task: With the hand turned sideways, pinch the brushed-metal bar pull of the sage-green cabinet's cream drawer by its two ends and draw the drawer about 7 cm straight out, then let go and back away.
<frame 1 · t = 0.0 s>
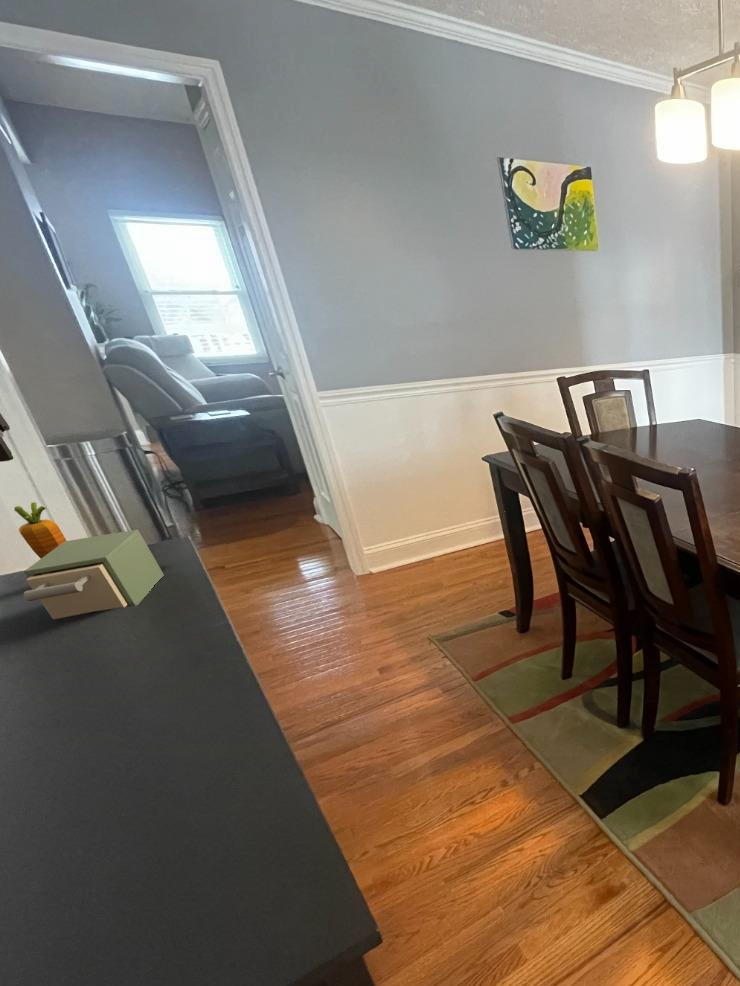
carrot: (71, 578, 113), on the table
cabinet: (115, 597, 105), on the table
drawer: (86, 585, 99), point 5 cm above the table, slide at 0.5 cm
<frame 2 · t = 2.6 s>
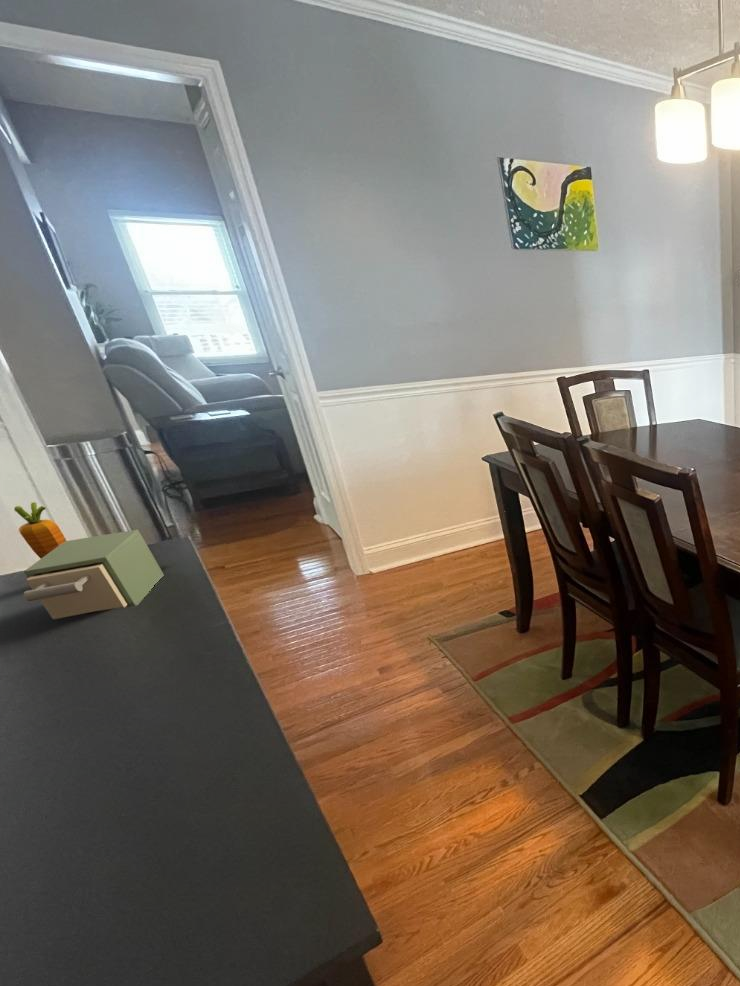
nothing on the table moved.
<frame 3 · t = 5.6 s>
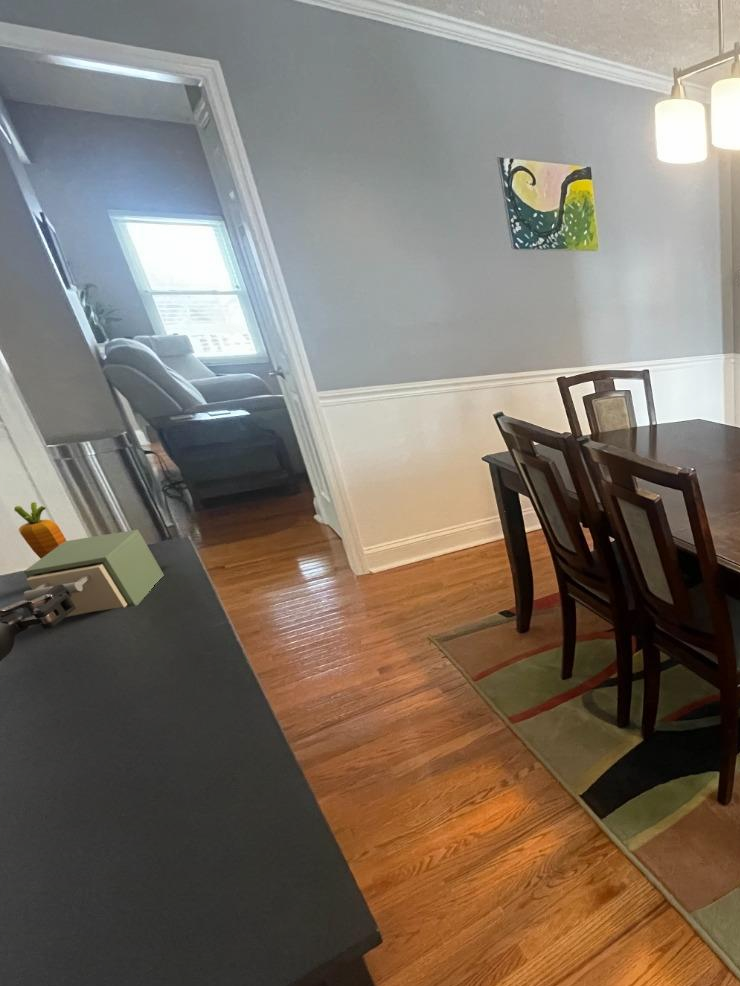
hand: (24, 597, 86), 9 cm above the table, tool horizontal, fingers open, 8 cm apart
nothing on the table moved.
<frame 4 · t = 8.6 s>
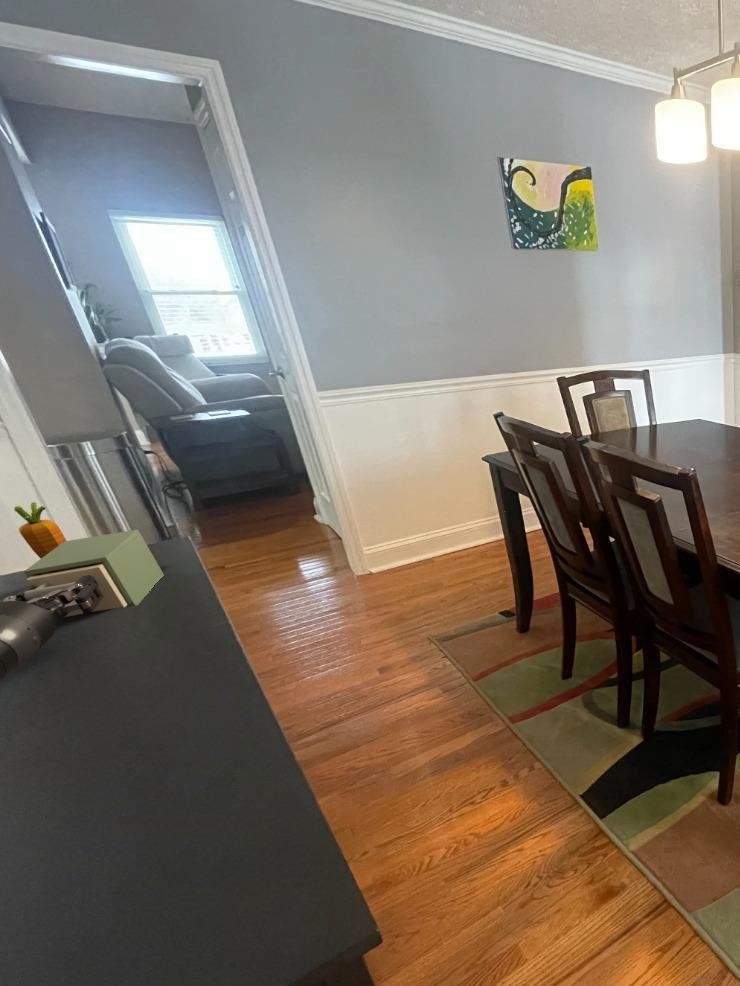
hand: (63, 585, 94), 7 cm above the table, tool horizontal, fingers closed on drawer, 6 cm apart
drawer: (86, 585, 99), point 5 cm above the table, slide at 0.5 cm, touching gripper
everything else where it was.
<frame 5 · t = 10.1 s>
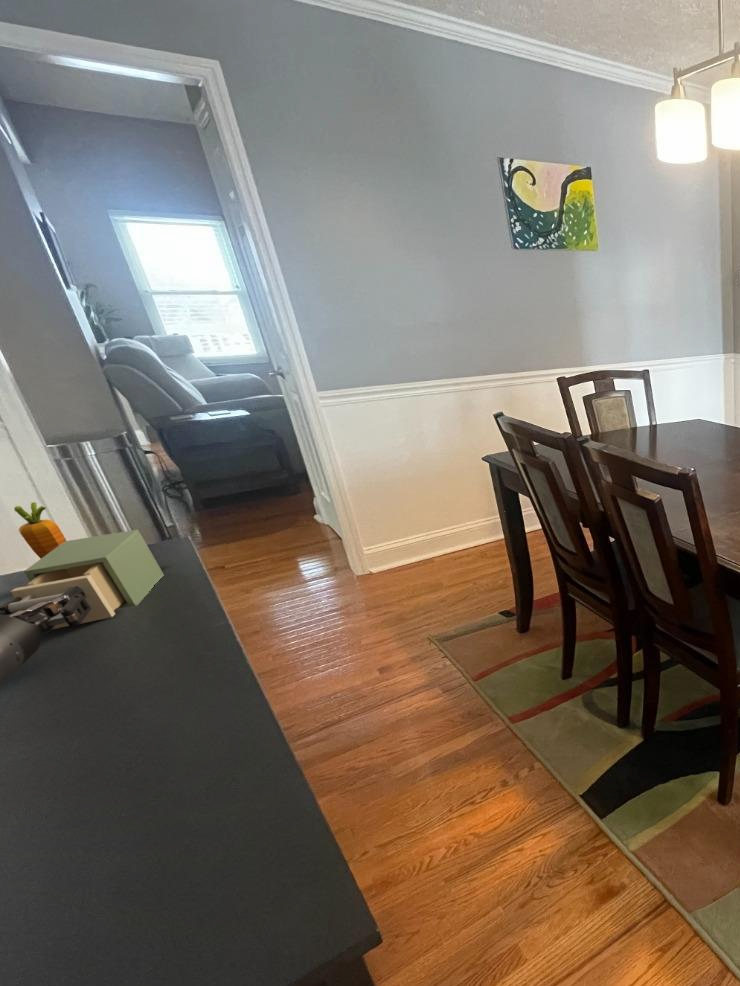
hand: (49, 597, 91), 7 cm above the table, tool horizontal, fingers closed on drawer, 6 cm apart
drawer: (74, 596, 96), point 5 cm above the table, slide at 4.5 cm, touching gripper
everything else where it was.
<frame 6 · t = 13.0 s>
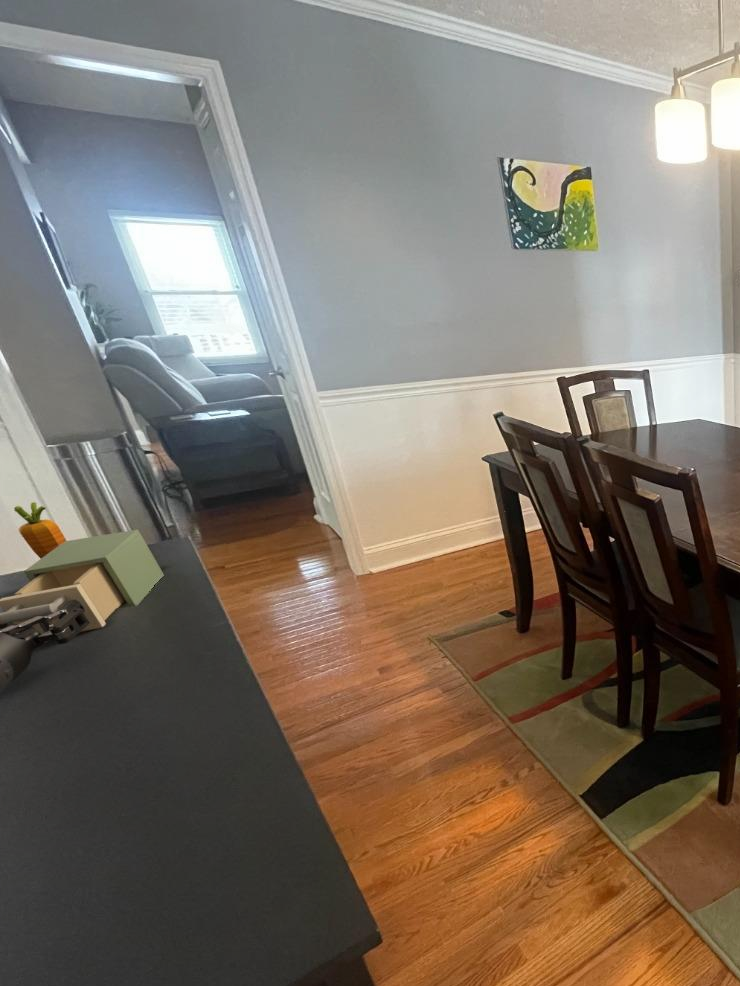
hand: (39, 612, 88), 7 cm above the table, tool horizontal, fingers open, 8 cm apart
drawer: (64, 605, 93), point 5 cm above the table, slide at 7.8 cm
everything else where it was.
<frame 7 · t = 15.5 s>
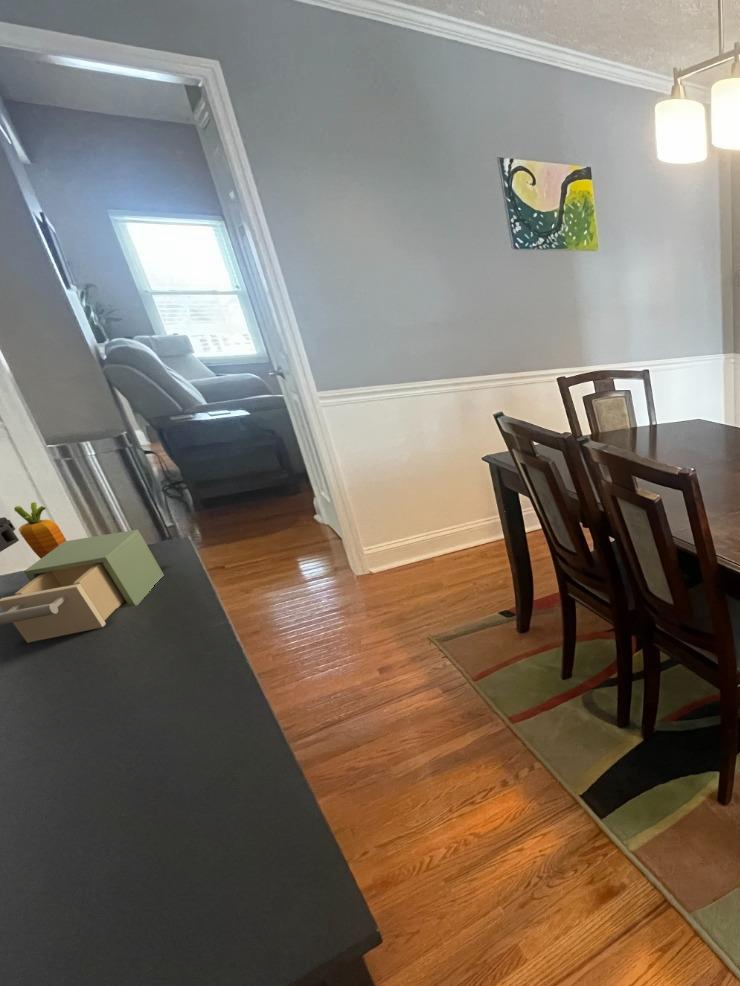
nothing on the table moved.
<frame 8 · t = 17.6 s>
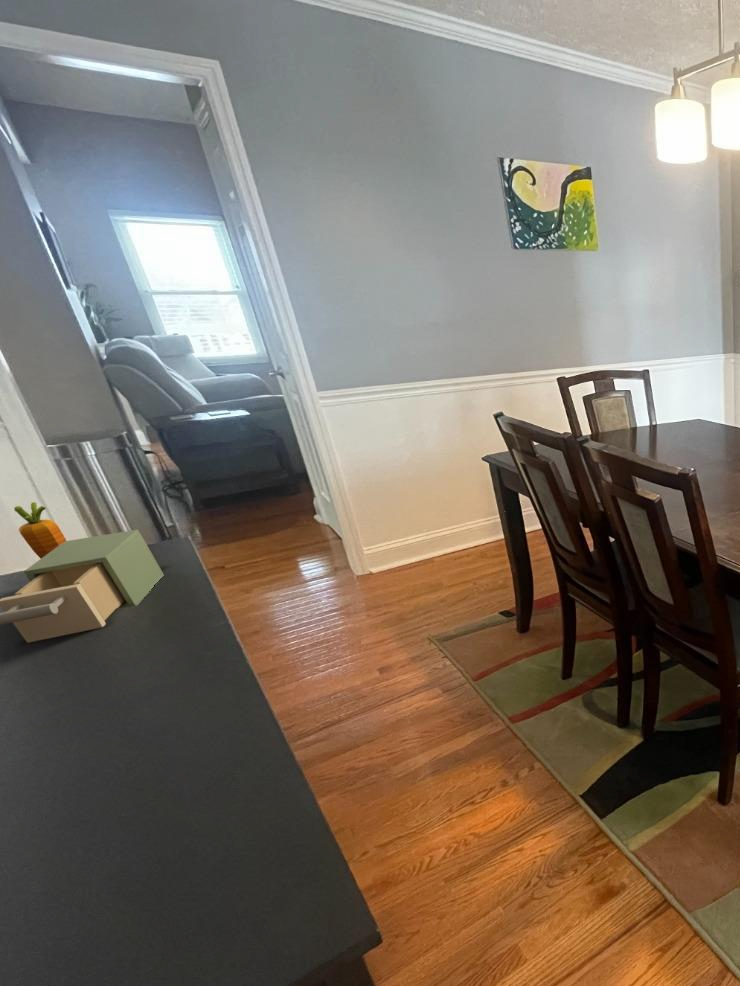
nothing on the table moved.
at the end: drawer slide at 7.8 cm; carrot moved 0.2 cm from its start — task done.
